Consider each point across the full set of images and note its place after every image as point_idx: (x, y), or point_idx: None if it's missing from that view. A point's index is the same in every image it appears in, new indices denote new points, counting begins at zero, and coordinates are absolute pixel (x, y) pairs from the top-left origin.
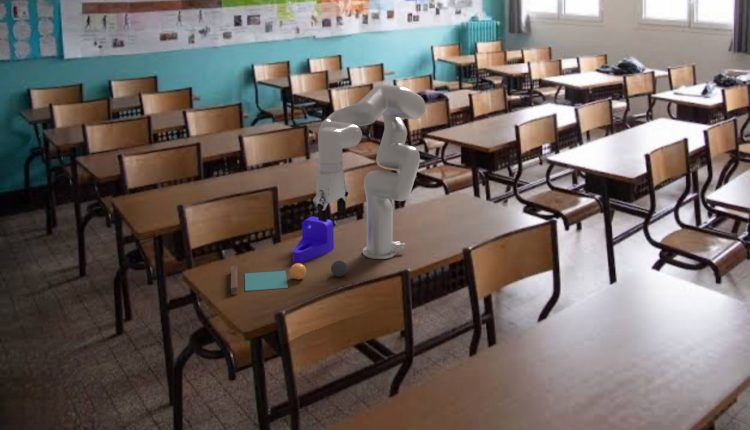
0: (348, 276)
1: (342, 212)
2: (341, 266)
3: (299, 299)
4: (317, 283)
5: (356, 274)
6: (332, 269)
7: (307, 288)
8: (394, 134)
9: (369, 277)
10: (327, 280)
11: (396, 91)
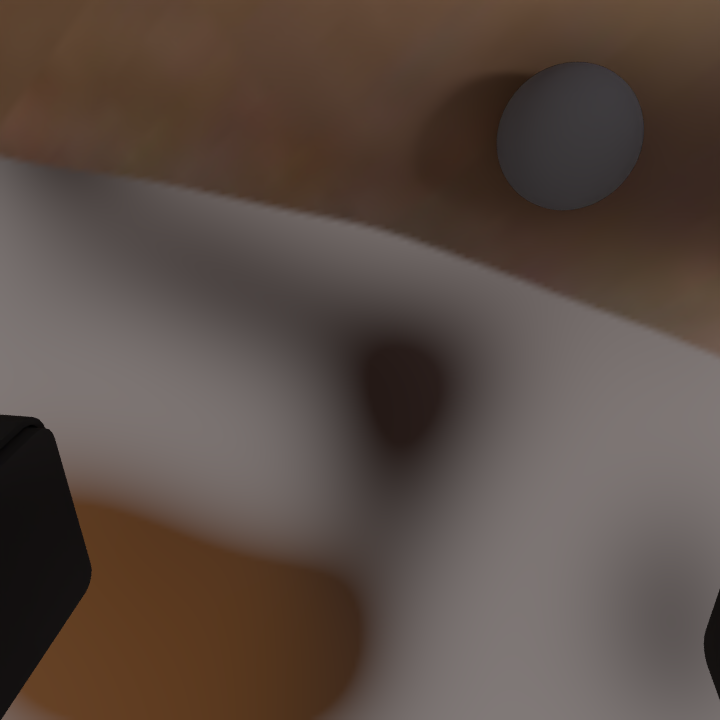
0: None
1: (716, 617)
2: (539, 198)
3: (86, 151)
4: (348, 76)
5: (651, 221)
6: (502, 119)
7: (236, 74)
8: None
9: (644, 325)
10: (437, 105)
11: None
